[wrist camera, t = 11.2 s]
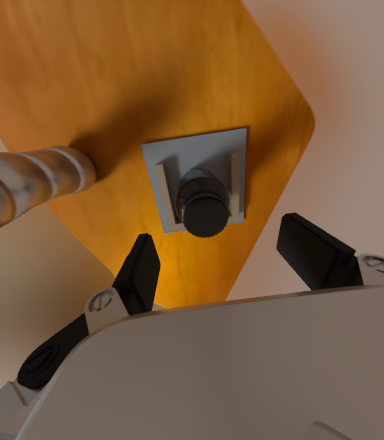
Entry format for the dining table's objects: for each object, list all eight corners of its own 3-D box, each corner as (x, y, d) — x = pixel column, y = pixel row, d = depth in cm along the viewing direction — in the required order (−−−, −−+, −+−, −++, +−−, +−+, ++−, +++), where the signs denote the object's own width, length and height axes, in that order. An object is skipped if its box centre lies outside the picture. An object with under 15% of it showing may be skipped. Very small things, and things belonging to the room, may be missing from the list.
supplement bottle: (211, 160, 23) (233, 172, 12) (221, 199, 26) (246, 235, 15) (171, 175, 24) (160, 199, 13) (186, 211, 27) (186, 253, 16)
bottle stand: (142, 144, 22) (135, 144, 19) (244, 128, 22) (253, 125, 19) (165, 230, 30) (162, 240, 27) (241, 220, 29) (248, 228, 26)
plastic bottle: (72, 135, 21) (-474, 80, 4) (110, 171, 24) (-105, 242, 6) (50, 164, 23) (-398, 222, 5) (88, 195, 26) (-132, 304, 8)
